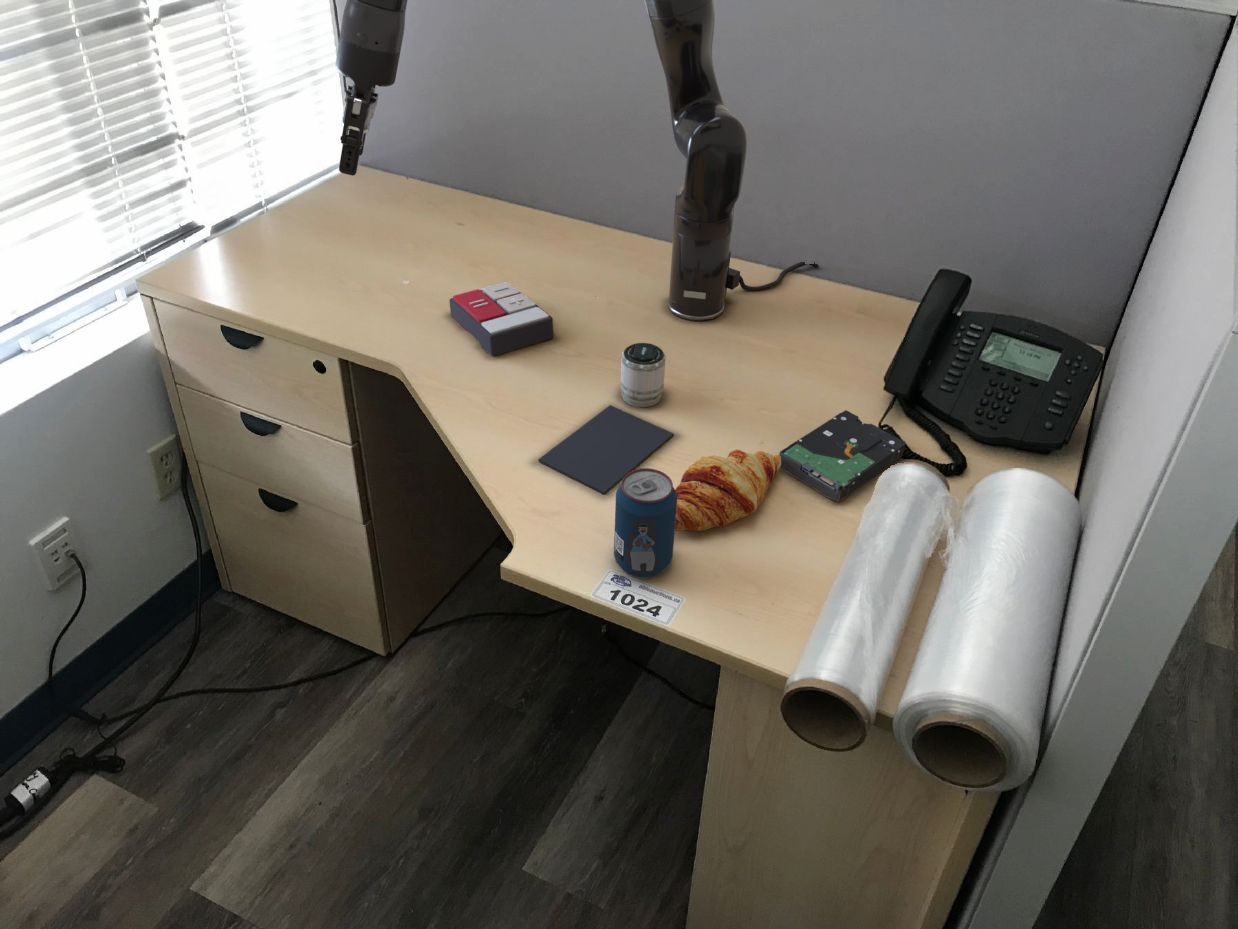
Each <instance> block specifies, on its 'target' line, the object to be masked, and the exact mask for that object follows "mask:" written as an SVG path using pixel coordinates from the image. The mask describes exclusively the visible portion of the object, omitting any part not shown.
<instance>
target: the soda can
mask: <svg viewBox="0 0 1238 929" xmlns="http://www.w3.org/2000/svg"><path fill="white" fill-rule="evenodd" d="M675 489H676V488H675V487H674V484H673V481H672V479H671V477H670V476H669V475H668V474H666V473H665V472H663V471H661V470H658V469H655V468H648V467H643V468H635V469H634V470H633V471H631V472H629V473H628V474H627V475H625V477H624V478H623V479H622V480H621V483H620V485H619V486H618V488H617V490H616V492H615V510H614V534H613V535H614V539H613V557H614V560H615V562H616V564H617V565H618V566H619V568H620V569H621V570H622V571H623V572H624V573H625V574H627V575H629V576H630V577H633V578H637V579H651V578H655V577H657V576H659V575H660V574H661V573H662V572H664V571H665V570H666V569H667V568H668V567H669V565H671V562H672V561H673V556H674V546H675V545H674V544H675V533H676V532H675V531H676V530H675V520H676V508H677V493H676V491H675Z"/></svg>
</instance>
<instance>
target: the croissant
mask: <svg viewBox="0 0 1238 929" xmlns="http://www.w3.org/2000/svg"><path fill="white" fill-rule="evenodd" d="M780 466H781V457H780V456H779V454H775V455H773V454H770V453H768V452H765V451H761V450H760V451H759V450H758V451H756V452H755V453H751V452H750V453H748V452H746V451H742V450H740V449H734V450H731V451H730V452H729V453H728V455H727V457H722V456H719V455H708V456H701V457H700V458H699V459H697V460H696V461H695V462H693V463H692V464H691V465H689V466H688V468H687V469H686V470H685V471H684V473H683V474H682V477H681V479H680V482H679V484H678V485H677V486H676V487H675V488H674V489H675V491H676V493H677V508H676V520H675V531H679V530H680V531H683V530H688V531H693V532H701V531H706V530H708V529H712V528H714V527H724V526H727V525H729V524H731V523H735V522H736V520H738V519H742V518H745V517H747V516H751V515H752V514H753V513H755V512H756V511H757V509H758V508H759V506H761V504H762V503H763V502H764V500H765V493H766V492H767V490H768V489H769V488H770V487H771V485H772V483H773V479H774V478H775V476H777V474H778V471H779V470H780V468H781V467H780Z"/></svg>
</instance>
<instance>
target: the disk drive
mask: <svg viewBox="0 0 1238 929" xmlns="http://www.w3.org/2000/svg"><path fill="white" fill-rule="evenodd" d="M906 444H907V443H906V441H904V440H902V439H900V438H899V437H897V436H895V435H893V434H891V433H889V432H887V431H885V430H884V429H882V428H880V427H878V426H877V425H875V424H873V423H863V421H861V419H860V418H859V416H858V415H857V414H854V413H852V412H850V411H848V410H847V409H845V410H843V411H842V412H839V413H838V414H836V415H835V416H833V417H831V418H830V419H828V420H827V421H826V422H824V423H823V424H821V425H819V426H817V427H816V428H815V429H813V430H812V431H810V432H809V433H807V434H804V436H802V437H800V438H799V439H797V440H796V441H794V442H792V443H791V444H789V445H788V446H786V447H785V448H783V449H782V450H780V451H779V453H778V455H779V456H780V457H781V466H780V468H781V469H782V470H783V471H785V472H786V473H787V474H789V475H791V476H793V477H794V478H796V479H798V480H799V481H801V482H802V483H803V484H806V485H807V486H809V487H811V489H814V490H815V491H817V492H819V493H820V494H822V495H824V496H825V497H827V498H828V499H830V500H833V501H835V502H841V501H842V500H844V499H845V498H846V497H848V496H849V495H851V494H852V493H853V492H855V491H857V490H858V489H859V488H860V487H862V486H863V485H865V484H866V483H867V482H869V481H870V480H872V479H873V478H874V477H876V476H877V475H879V474H880V473H881V472H883V471H885V470H886V469H887V468H888V467H890V466H891V465H892V464H894V463H895V462H896V461H897V462H898V460H899V459H901V458H902V457H903V455H904V452H905V449H906Z"/></svg>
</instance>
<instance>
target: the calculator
mask: <svg viewBox="0 0 1238 929" xmlns="http://www.w3.org/2000/svg"><path fill="white" fill-rule="evenodd" d="M449 309H450V316H451V317H452V318H453V319H454V320H456V321H457V322H458V324H460V325H461V326H462V327H463V328H464V329H465V330H466V331H467V332H469V334H471V335H472V336H473V337H474V338H475V339H476V340H477V341H478V342H479V344H480V346H481V348H482V349H484V351H486V352H487V353H488V354H489V355H490V356H491V357H495V356H499V355H502V354H506V353H509V352H512V351H515V350H519V349H523V348H526V347H528V346H532V345H535V344H538V343H543V342H544V341H548V340H551V339H554V317H552V316H551V315H550V314H549V313H548V312H546V311H545V310H544V309H542V308H541V307H540V306H539V305H538V304H536V302H534V301H533V300H532V299H530V298H529V297H528V296H526V294H524V293H522V292H521V291H520V290H519V289H518V288H516V286H514V285H513V284H511V283H510V282H509V281H503V282H499V283H495V284H492V285H488V286H484V287H482V288H481V289H473V290H470V291H466V292H461V293H458V294H454V295H453V296H452V297H450V298H449Z"/></svg>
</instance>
